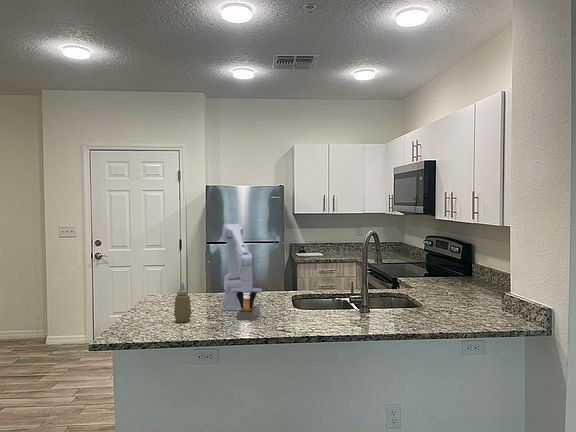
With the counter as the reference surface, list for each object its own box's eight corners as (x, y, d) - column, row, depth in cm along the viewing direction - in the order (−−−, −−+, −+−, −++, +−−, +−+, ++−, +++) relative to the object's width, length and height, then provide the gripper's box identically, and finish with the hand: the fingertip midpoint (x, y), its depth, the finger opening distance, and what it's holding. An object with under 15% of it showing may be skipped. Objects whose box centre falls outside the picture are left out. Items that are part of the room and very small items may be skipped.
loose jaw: (243, 310, 220) (243, 298, 220) (251, 310, 220) (251, 298, 219) (242, 313, 216) (241, 300, 216) (250, 313, 216) (250, 300, 215)
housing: (237, 319, 215) (236, 306, 215) (244, 312, 229) (243, 299, 229) (253, 320, 214) (253, 306, 214) (259, 312, 228) (259, 299, 227)
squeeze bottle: (195, 319, 217) (194, 281, 216) (185, 324, 209) (184, 284, 209) (180, 318, 220) (179, 281, 219) (170, 322, 212) (169, 284, 211)
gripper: (229, 280, 214) (229, 309, 215) (259, 281, 212) (260, 310, 213) (233, 278, 221) (233, 306, 222) (262, 278, 219) (263, 306, 220)
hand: (246, 308), depth 218 cm, fingers closed on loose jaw, 4 cm apart
